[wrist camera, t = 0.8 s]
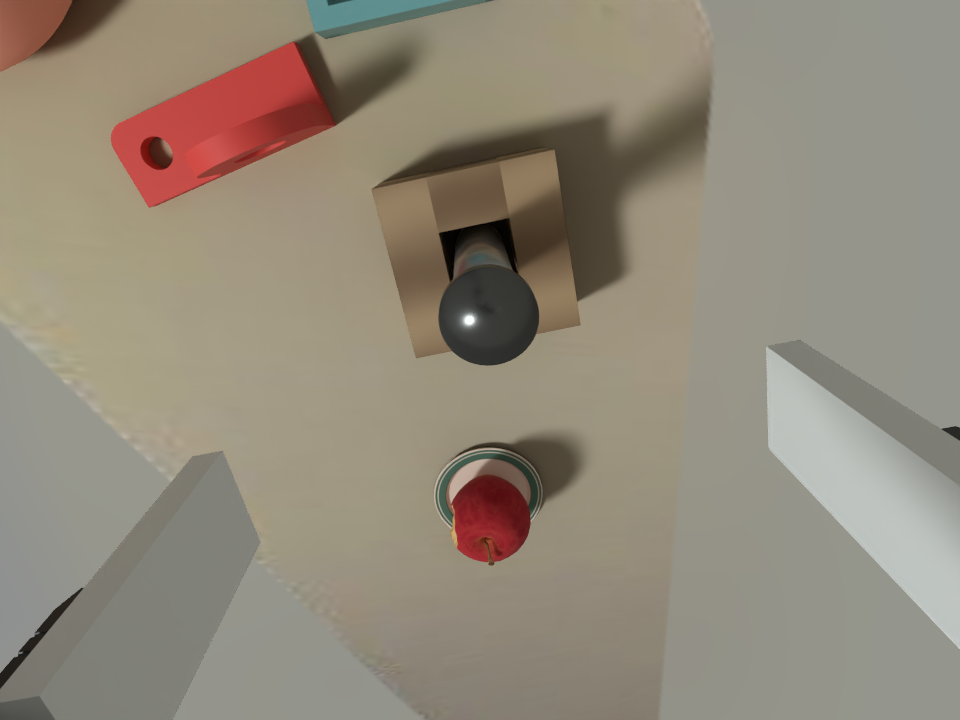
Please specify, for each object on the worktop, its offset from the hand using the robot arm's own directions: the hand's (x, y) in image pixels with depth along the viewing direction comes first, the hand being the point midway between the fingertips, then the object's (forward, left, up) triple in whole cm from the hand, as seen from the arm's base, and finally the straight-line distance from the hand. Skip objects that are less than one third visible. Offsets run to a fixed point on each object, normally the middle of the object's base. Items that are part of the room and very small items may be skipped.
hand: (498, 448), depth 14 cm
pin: (0, 0, -25) cm, 25 cm away
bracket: (-10, -13, -25) cm, 30 cm away
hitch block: (0, 0, -25) cm, 25 cm away
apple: (+18, -3, -25) cm, 31 cm away
